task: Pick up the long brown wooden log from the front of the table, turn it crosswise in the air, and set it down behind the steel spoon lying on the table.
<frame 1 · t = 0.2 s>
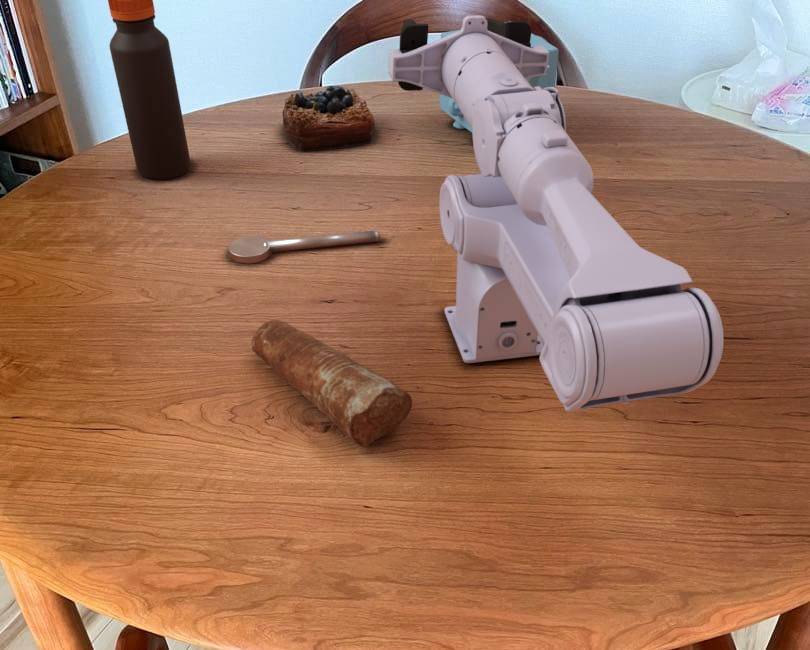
hand: (445, 29, 87), 21 cm above the table, tool horizontal, fingers open, 7 cm apart
bottle: (164, 170, 116), on the table
spoon: (299, 248, 101), on the table
pastry: (328, 134, 124), on the table
brown wooden log: (319, 401, 82), on the table
teapot: (503, 138, 122), on the table
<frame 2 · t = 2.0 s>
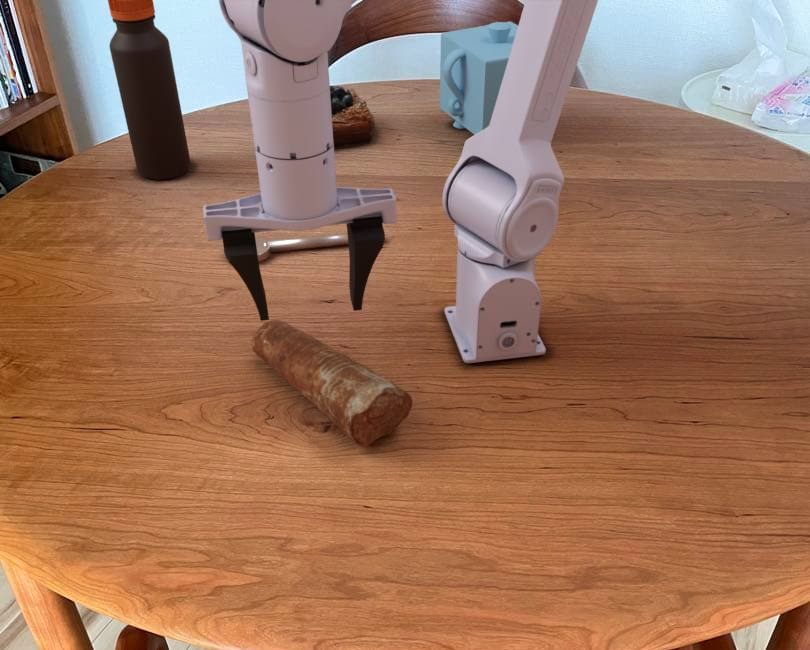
hand: (310, 309, 75), 9 cm above the table, tool pointing down, fingers open, 7 cm apart
nothing on the table moved.
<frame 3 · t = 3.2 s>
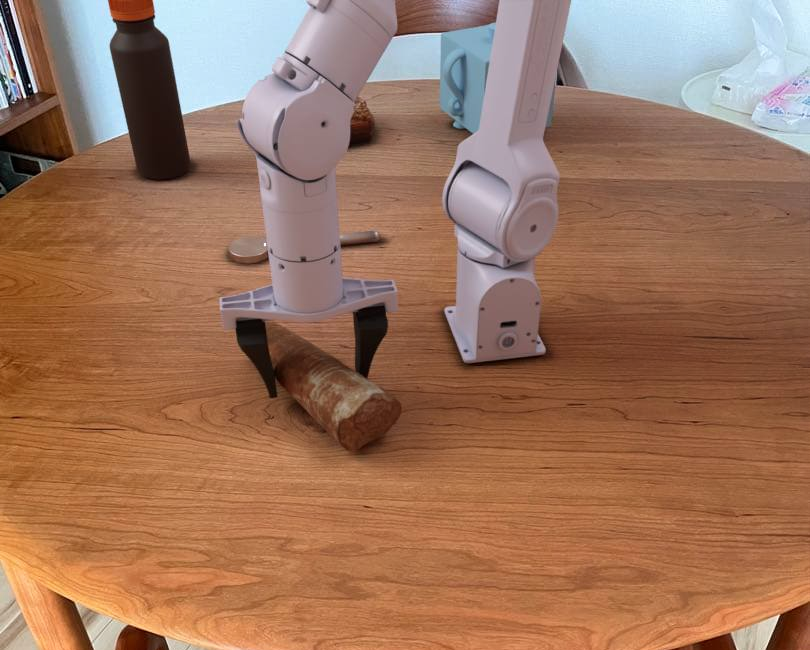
hand: (317, 386, 81), 1 cm above the table, tool pointing down
brown wooden log: (311, 404, 82), on the table, touching gripper
everything else where it was.
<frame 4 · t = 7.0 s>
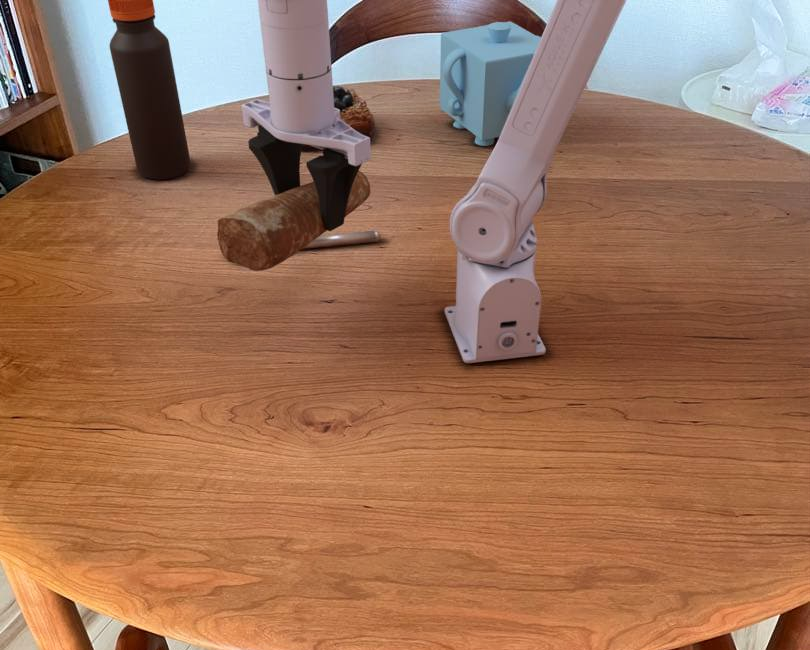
hand: (312, 217, 89), 8 cm above the table, tool pointing down, fingers closed on brown wooden log, 5 cm apart
brown wooden log: (299, 237, 90), point 7 cm above the table, touching gripper
everything else where it was.
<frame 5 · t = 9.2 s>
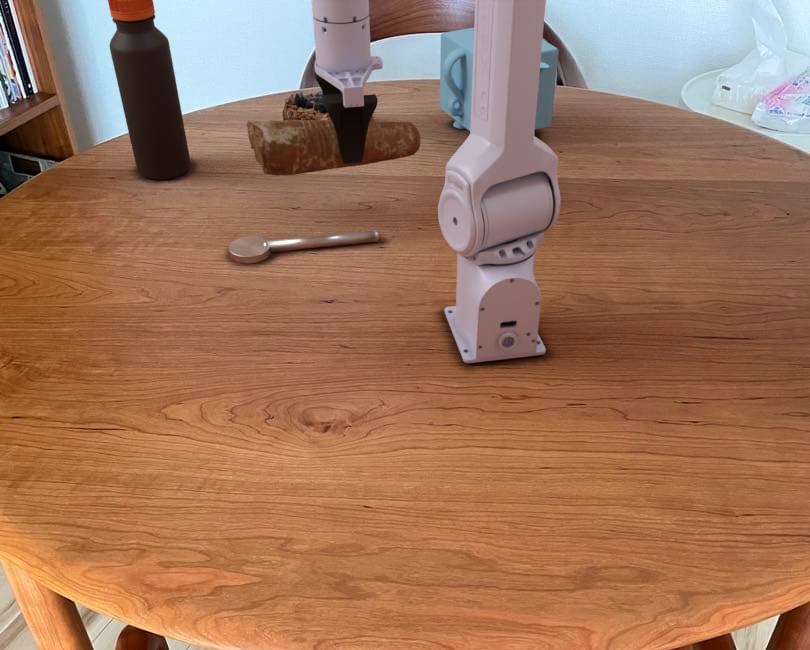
hand: (348, 150, 101), 8 cm above the table, tool pointing down, fingers closed on brown wooden log, 5 cm apart
brown wooden log: (337, 164, 103), point 6 cm above the table, touching gripper
everything else where it was.
when the fingers open (2 cm above the table, at t = 11.2 s): brown wooden log stays where it is, on the table.
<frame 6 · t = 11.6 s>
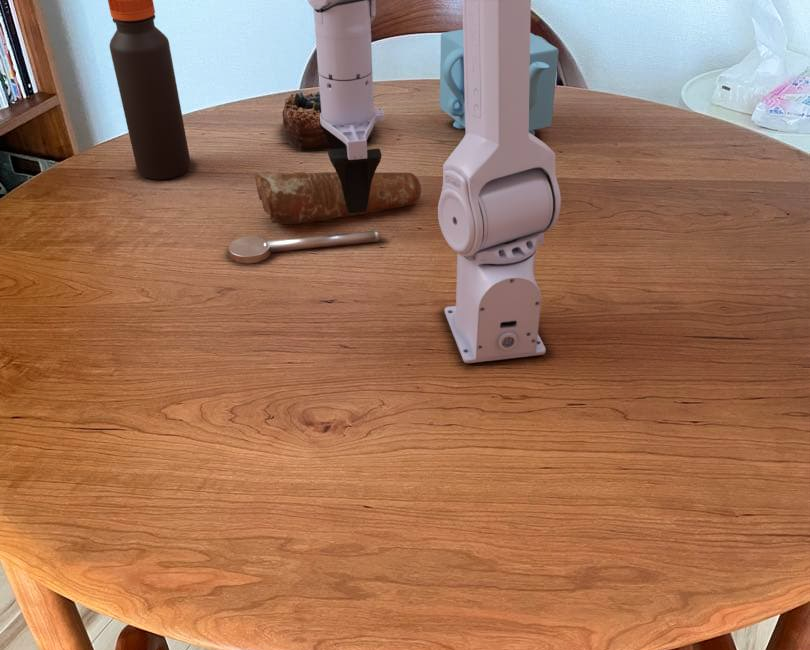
hand: (352, 196, 105), 2 cm above the table, tool pointing down, fingers open, 7 cm apart
brown wooden log: (341, 213, 107), on the table
everything else where it was.
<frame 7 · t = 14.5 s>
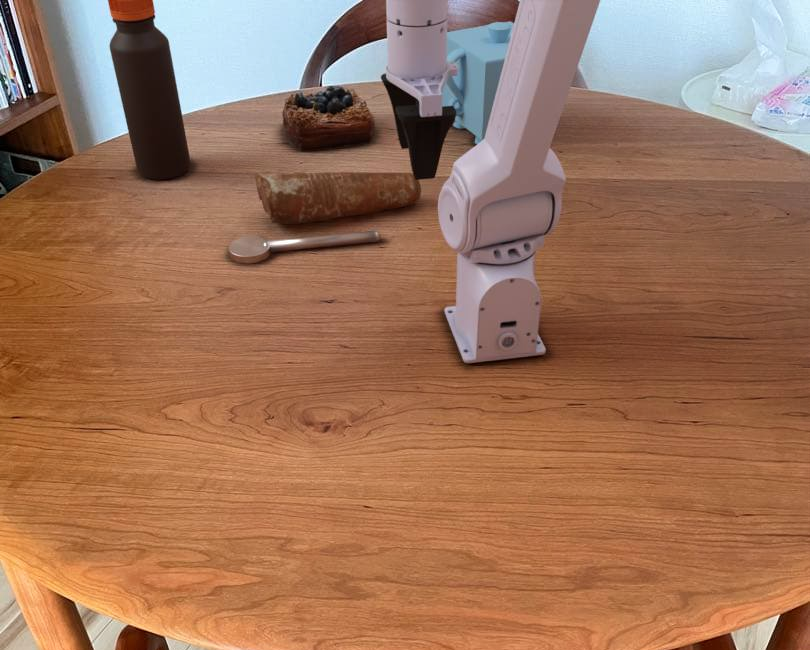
hand: (417, 162, 95), 9 cm above the table, tool pointing down, fingers open, 7 cm apart
nothing on the table moved.
at the end: brown wooden log inside the target area on the table beside the spoon (3.7 cm from its centre), on the table; the gripper is holding nothing; spoon moved 0.0 cm from its start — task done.
